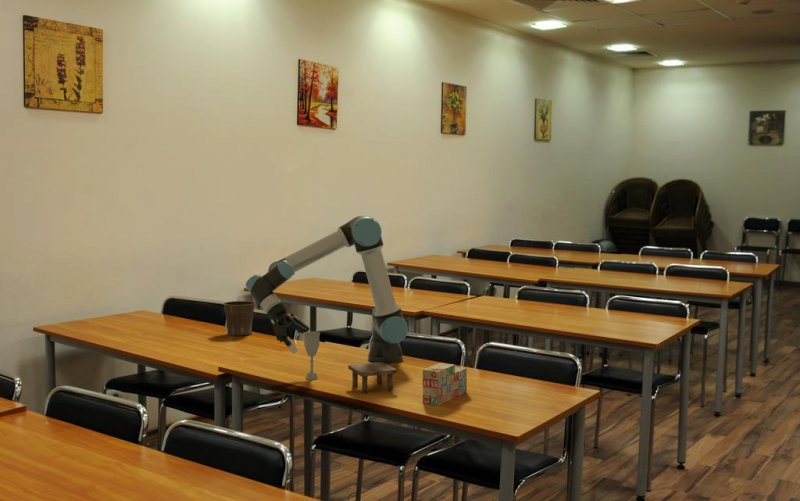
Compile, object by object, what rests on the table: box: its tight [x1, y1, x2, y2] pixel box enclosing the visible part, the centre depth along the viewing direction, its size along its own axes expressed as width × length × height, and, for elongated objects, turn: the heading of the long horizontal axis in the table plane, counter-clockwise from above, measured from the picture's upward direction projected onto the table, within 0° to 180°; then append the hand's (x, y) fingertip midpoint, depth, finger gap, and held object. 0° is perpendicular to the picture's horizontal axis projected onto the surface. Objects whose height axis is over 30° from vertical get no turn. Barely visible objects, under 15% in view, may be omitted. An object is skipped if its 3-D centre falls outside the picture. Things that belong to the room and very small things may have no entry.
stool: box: [347, 362, 398, 394], centre depth 300 cm, size 14×14×8 cm
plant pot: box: [222, 300, 256, 337], centre depth 409 cm, size 16×16×16 cm
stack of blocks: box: [422, 362, 468, 406], centre depth 287 cm, size 21×6×12 cm, turn 147°
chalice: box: [302, 331, 321, 381], centre depth 315 cm, size 7×7×18 cm
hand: (305, 348), depth 315 cm, fingers open, 13 cm apart
